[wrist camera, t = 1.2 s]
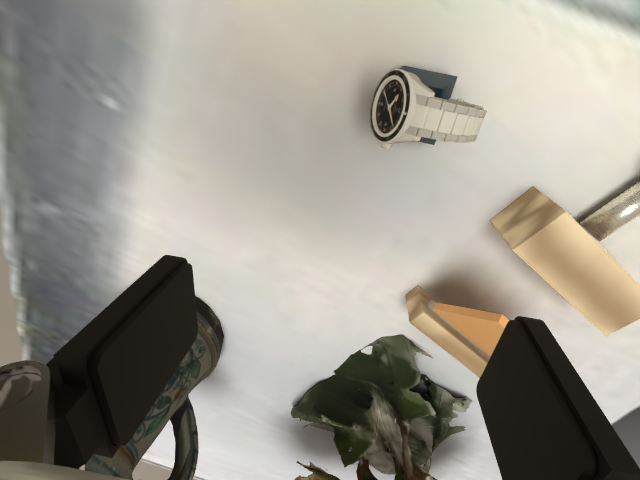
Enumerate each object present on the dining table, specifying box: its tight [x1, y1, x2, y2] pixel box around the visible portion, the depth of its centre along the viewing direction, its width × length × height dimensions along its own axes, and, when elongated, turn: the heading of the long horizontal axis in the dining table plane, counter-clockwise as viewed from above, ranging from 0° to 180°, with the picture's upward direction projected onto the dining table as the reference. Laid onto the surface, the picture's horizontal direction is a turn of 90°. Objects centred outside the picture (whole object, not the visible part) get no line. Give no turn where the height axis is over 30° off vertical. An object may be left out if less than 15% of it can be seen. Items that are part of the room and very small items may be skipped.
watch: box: [370, 66, 487, 149], centre depth 26 cm, size 6×8×11 cm
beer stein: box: [85, 296, 224, 480], centre depth 38 cm, size 16×19×25 cm
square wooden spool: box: [406, 187, 640, 377], centre depth 35 cm, size 18×14×6 cm
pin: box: [579, 181, 640, 241], centre depth 30 cm, size 8×4×5 cm, turn 141°
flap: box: [426, 300, 510, 358], centre depth 33 cm, size 10×11×1 cm
